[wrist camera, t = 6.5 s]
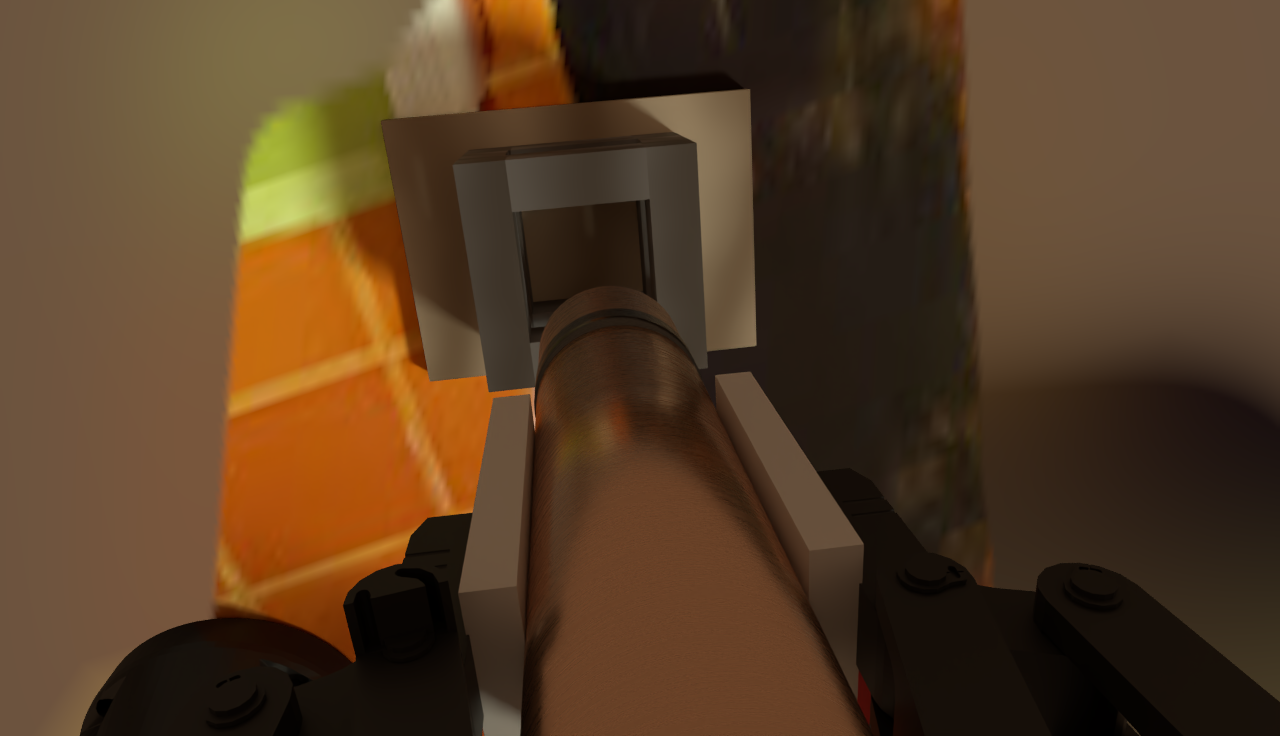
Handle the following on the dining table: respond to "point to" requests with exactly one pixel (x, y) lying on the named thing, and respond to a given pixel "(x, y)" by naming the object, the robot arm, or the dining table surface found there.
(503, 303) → the collar stand
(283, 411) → the dining table surface
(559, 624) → the copper tube
